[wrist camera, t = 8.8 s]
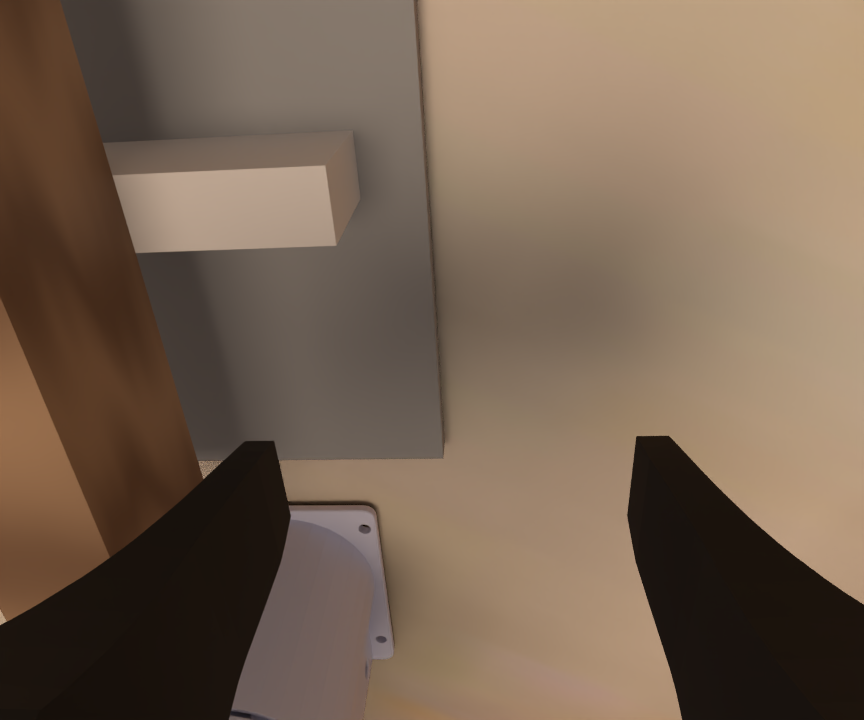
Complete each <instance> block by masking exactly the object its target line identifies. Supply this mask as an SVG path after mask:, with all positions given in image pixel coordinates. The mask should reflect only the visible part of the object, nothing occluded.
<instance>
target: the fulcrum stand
mask: <svg viewBox="0 0 864 720" xmlns="http://www.w3.org/2000/svg"><path fill="white" fill-rule="evenodd" d="M60 2H61V5H62V8H63V12H64V15H65V18H66V22H67V25H68V28H69V32H70V35H71V39H72V42H73V45H74V49H75V52H76V55H77V59H78V62H79V65H80V69H81V72H82V75H83V79H84V82H85V85H86V89H87V92H88V95H89V99H90V102H91V105H92V109H93V112H94V115H95V119H96V122H97V126H98V129H99V132H100V136H101V139H102V142H103V146H104V149H105V152H106V156H107V159H108V162H109V166H110V169H111V172H112V176H113V179H114V182H115V186H116V189H117V192H118V196H119V199H120V202H121V206H122V209H123V213H124V216H125V219H126V223H127V226H128V229H129V233H130V236H131V239H132V243H133V246H134V249H135V253H136V256H137V259H138V263H139V266H140V269H141V273H142V276H143V279H144V283H145V286H146V289H147V293H148V296H149V300H150V303H151V306H152V310H153V313H154V316H155V320H156V323H157V326H158V330H159V333H160V336H161V340H162V343H163V346H164V350H165V353H166V356H167V360H168V363H169V366H170V370H171V373H172V376H173V380H174V383H175V387H176V390H177V393H178V397H179V400H180V403H181V407H182V410H183V413H184V417H185V420H186V423H187V427H188V430H189V433H190V437H191V440H192V443H193V447H194V450H195V453H196V457H197V460H198V461H224V460H225V459H226V458H227V457H228V456H229V455H230V454H231V453H232V452H233V451H234V450H236V449H237V448H238V447H239V446H240V445H241V444H242V443H243V442H245V441H274V442H275V447H276V451H277V456H278V460H332V459H436V458H443V457H444V443H445V442H444V426H443V410H442V394H441V378H440V362H439V347H438V331H437V315H436V299H435V283H434V267H433V251H432V236H431V220H430V204H429V188H428V172H427V156H426V140H425V125H424V109H423V93H422V77H421V61H420V45H419V29H418V14H417V0H60Z"/></svg>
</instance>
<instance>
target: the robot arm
mask: <svg viewBox="0 0 864 720" xmlns="http://www.w3.org/2000/svg"><path fill="white" fill-rule="evenodd" d="M627 516H628V522H629V528H630V533H631V539H632V544H633V550H634V555H635V560H636V564H637V567H638V571H639V574H640V577H641V580H642V583H643V586H644V590H645V593H646V596H647V599H648V602H649V605H650V608H651V611H652V615H653V618H654V621H655V624H656V627H657V630H658V633H659V636H660V639H661V642H662V646H663V649H664V652H665V655H666V658H667V661H668V664H669V667H670V671H671V674H672V678H673V682H674V685H675V689H676V693H677V697H678V702H679V707H680V711H681V716H682V720H864V605H863V604H862V603H860V602H859V601H857V600H856V599H854V598H852V597H851V596H849V595H848V594H846V593H845V592H843V591H842V590H840V589H839V588H837V587H836V586H835V585H833V584H832V583H830V582H829V581H827V580H826V579H825V578H823V577H822V576H821V575H819V574H818V573H817V572H815V571H814V570H813V569H811V568H810V567H809V566H807V565H806V564H804V563H803V562H802V561H800V560H799V559H798V558H796V557H795V556H794V555H793V554H791V553H790V552H789V551H788V550H786V549H785V548H784V547H783V546H781V545H780V544H779V543H778V542H776V541H775V540H774V539H773V538H772V537H771V536H770V535H768V534H767V533H766V532H765V531H764V530H763V529H761V528H760V527H759V526H758V525H757V524H756V523H755V522H753V521H752V520H751V519H750V518H749V517H748V516H747V515H746V514H745V513H744V512H743V511H742V510H741V509H740V508H739V507H737V506H736V505H735V504H734V503H733V502H732V501H731V500H730V499H729V498H728V497H727V496H726V495H725V494H724V493H723V492H722V491H721V490H720V489H719V488H718V487H717V486H716V485H715V484H714V483H713V482H712V481H711V480H710V479H709V478H708V477H707V476H706V475H705V474H704V472H703V471H702V470H701V469H700V468H699V467H698V466H697V465H696V464H695V463H694V462H693V461H692V460H691V459H690V458H689V457H688V456H687V454H686V453H685V452H684V451H683V450H682V449H681V448H680V447H679V446H678V445H677V444H676V443H675V442H674V441H673V440H672V439H671V438H670V437H669V436H636V445H635V453H634V462H633V471H632V479H631V488H630V497H629V505H628V514H627ZM362 525H368V526H369V527H364V526H362ZM393 654H394V640H393V633H392V625H391V618H390V611H389V603H388V596H387V588H386V581H385V574H384V566H383V559H382V552H381V544H380V537H379V530H378V522H377V515H376V512H375V510H374V509H373V508H371V507H369V506H365V505H296V506H289V505H288V501H287V496H286V492H285V487H284V483H283V478H282V474H281V469H280V465H279V460H278V456H277V451H276V447H275V442H274V441H245V442H243V443H242V444H241V445H240V446H239V447H238V448H237V449H236V450H234V451H233V452H232V453H231V454H230V455H229V456H228V457H227V458H226V459H225V460H224V461H223V462H222V463H221V464H220V465H218V466H217V467H216V468H215V469H214V470H213V471H212V472H211V473H210V474H209V475H208V476H207V477H206V478H205V479H204V480H203V481H201V482H200V483H199V484H198V485H197V486H196V487H195V488H194V489H193V490H192V491H191V492H189V493H188V494H187V495H186V496H185V497H184V498H183V499H182V500H181V501H180V502H178V503H177V504H176V505H175V506H174V507H173V508H171V509H170V510H169V511H168V512H167V513H166V514H164V515H163V516H162V517H161V518H160V519H158V520H157V521H156V522H155V523H154V524H152V525H151V526H150V527H149V528H148V529H146V530H145V531H144V532H143V533H142V534H140V535H139V536H138V537H137V538H135V539H134V540H133V541H132V542H130V543H129V544H128V545H126V546H125V547H124V548H122V549H121V550H120V551H118V552H117V553H116V554H114V555H113V556H111V557H110V558H109V559H107V560H106V561H104V562H103V563H102V564H100V565H99V566H97V567H96V568H94V569H93V570H92V571H90V572H89V573H87V574H86V575H84V576H83V577H81V578H80V579H78V580H76V581H75V582H73V583H71V584H70V585H68V586H67V587H65V588H63V589H62V590H60V591H58V592H57V593H55V594H54V595H52V596H50V597H49V598H47V599H46V600H44V601H42V602H41V603H39V604H37V605H36V606H34V607H32V608H31V609H29V610H27V611H25V612H23V613H22V614H20V615H18V616H16V617H14V618H13V619H11V620H9V621H7V622H5V623H3V624H2V625H0V720H363V717H364V710H365V704H366V697H367V691H368V684H369V678H370V671H371V665H372V659H389V658H391V657H392V656H393Z"/></svg>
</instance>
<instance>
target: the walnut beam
mask: <svg viewBox="0 0 864 720" xmlns="http://www.w3.org/2000/svg"><path fill="white" fill-rule="evenodd" d="M201 481H203V477H202V474H201V470H200V467H199V464H198V460H197V457H196V453H195V450H194V447H193V443H192V440H191V437H190V433H189V430H188V427H187V423H186V420H185V417H184V413H183V410H182V407H181V403H180V400H179V397H178V393H177V390H176V387H175V383H174V380H173V376H172V373H171V370H170V366H169V363H168V360H167V356H166V353H165V350H164V346H163V343H162V340H161V336H160V333H159V330H158V326H157V323H156V320H155V316H154V313H153V310H152V306H151V303H150V300H149V296H148V293H147V289H146V286H145V283H144V279H143V276H142V273H141V269H140V266H139V263H138V259H137V256H136V253H135V249H134V246H133V243H132V239H131V236H130V233H129V229H128V226H127V223H126V219H125V216H124V213H123V209H122V206H121V202H120V199H119V196H118V192H117V189H116V186H115V182H114V179H113V176H112V172H111V169H110V166H109V162H108V159H107V156H106V152H105V149H104V146H103V142H102V139H101V136H100V132H99V129H98V126H97V122H96V119H95V115H94V112H93V109H92V105H91V102H90V99H89V95H88V92H87V89H86V85H85V82H84V79H83V75H82V72H81V69H80V65H79V62H78V59H77V55H76V52H75V49H74V45H73V42H72V39H71V35H70V32H69V28H68V25H67V22H66V18H65V15H64V12H63V8H62V5H61V2H60V0H0V610H1V612H2V613H3V615H4V617H5V619H6V620H7V621H9V620H11V619H13V618H14V617H16V616H18V615H20V614H22V613H23V612H25V611H27V610H29V609H31V608H32V607H34V606H36V605H37V604H39V603H41V602H42V601H44V600H46V599H47V598H49V597H50V596H52V595H54V594H55V593H57V592H58V591H60V590H62V589H63V588H65V587H67V586H68V585H70V584H71V583H73V582H75V581H76V580H78V579H80V578H81V577H83V576H84V575H86V574H87V573H89V572H90V571H92V570H93V569H94V568H96V567H97V566H99V565H100V564H102V563H103V562H104V561H106V560H107V559H109V558H110V557H111V556H113V555H114V554H116V553H117V552H118V551H120V550H121V549H122V548H124V547H125V546H126V545H128V544H129V543H130V542H132V541H133V540H134V539H135V538H137V537H138V536H139V535H140V534H142V533H143V532H144V531H145V530H146V529H148V528H149V527H150V526H151V525H152V524H154V523H155V522H156V521H157V520H158V519H160V518H161V517H162V516H163V515H164V514H166V513H167V512H168V511H169V510H170V509H171V508H173V507H174V506H175V505H176V504H177V503H178V502H180V501H181V500H182V499H183V498H184V497H185V496H186V495H187V494H188V493H189V492H191V491H192V490H193V489H194V488H195V487H196V486H197V485H198V484H199V483H200V482H201Z"/></svg>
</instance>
